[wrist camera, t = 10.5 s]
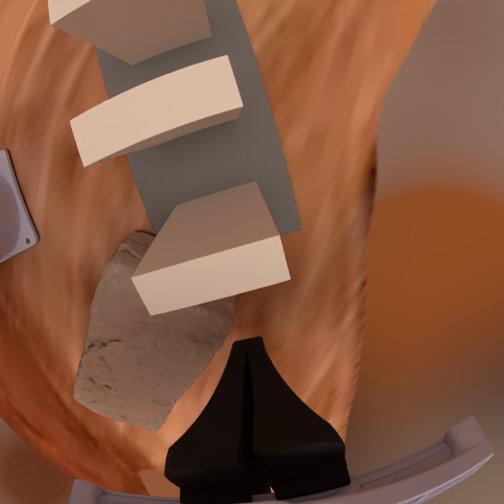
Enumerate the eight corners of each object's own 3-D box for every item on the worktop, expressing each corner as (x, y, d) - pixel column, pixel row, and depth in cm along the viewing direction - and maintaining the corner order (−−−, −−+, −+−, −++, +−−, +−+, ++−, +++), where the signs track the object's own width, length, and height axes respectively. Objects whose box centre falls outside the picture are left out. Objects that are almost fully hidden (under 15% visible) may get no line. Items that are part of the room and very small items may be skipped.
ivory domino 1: (132, 65, 13) (50, 25, 5) (126, 45, 13) (47, -5, 4) (212, 36, 13) (194, -41, 5) (205, 16, 12) (184, -68, 4)
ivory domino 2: (156, 145, 15) (84, 167, 7) (148, 121, 15) (69, 120, 7) (237, 118, 15) (243, 106, 7) (229, 93, 15) (227, 54, 6)
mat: (170, 264, 19) (169, 266, 19) (81, -56, 7) (80, -57, 7) (300, 227, 19) (301, 229, 18) (193, -98, 7) (192, -100, 7)
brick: (129, 223, 17) (100, 256, 13) (242, 279, 19) (244, 324, 15) (86, 366, 23) (71, 402, 19) (162, 399, 25) (155, 437, 21)
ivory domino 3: (185, 228, 18) (150, 315, 10) (177, 205, 17) (131, 278, 9) (262, 205, 17) (290, 279, 9) (255, 180, 17) (279, 234, 9)
